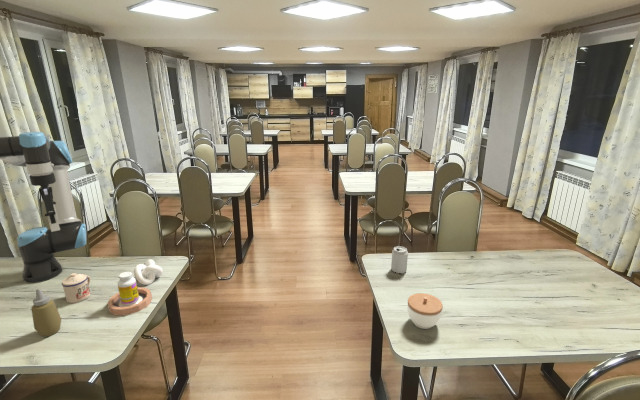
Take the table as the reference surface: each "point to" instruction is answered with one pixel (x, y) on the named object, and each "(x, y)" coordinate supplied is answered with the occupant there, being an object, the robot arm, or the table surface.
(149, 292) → the saucer tray
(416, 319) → the lidded bowl
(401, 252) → the can
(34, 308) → the squeeze bottle
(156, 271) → the white decorative knot
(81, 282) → the teacup with lid
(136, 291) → the supplement bottle
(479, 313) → the table surface
